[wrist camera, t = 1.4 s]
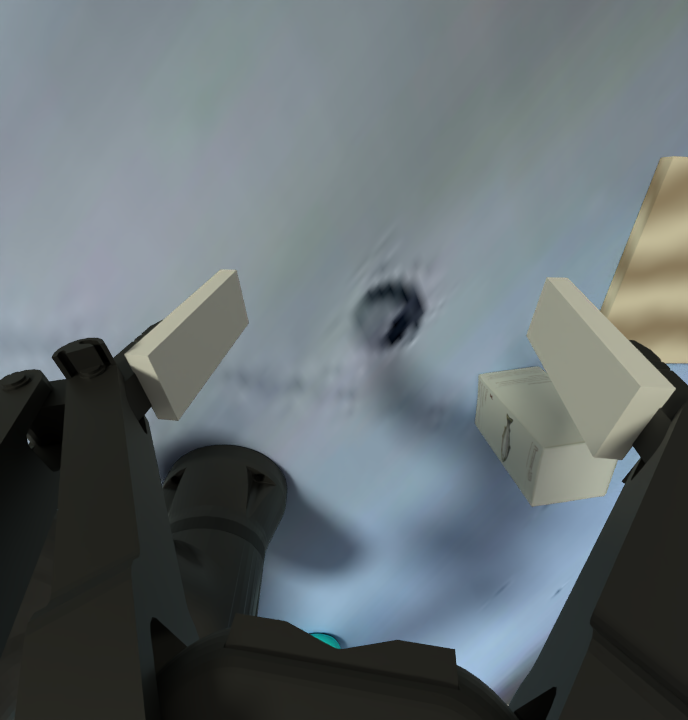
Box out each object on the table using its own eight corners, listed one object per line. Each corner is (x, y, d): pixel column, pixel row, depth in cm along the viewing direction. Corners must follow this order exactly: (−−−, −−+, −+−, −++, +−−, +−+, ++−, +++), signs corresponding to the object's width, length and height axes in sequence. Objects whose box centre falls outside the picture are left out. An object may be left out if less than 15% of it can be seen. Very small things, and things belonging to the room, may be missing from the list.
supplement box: (476, 372, 38) (543, 447, 27) (539, 364, 39) (632, 435, 27) (472, 424, 42) (530, 509, 30) (529, 416, 42) (608, 498, 31)
